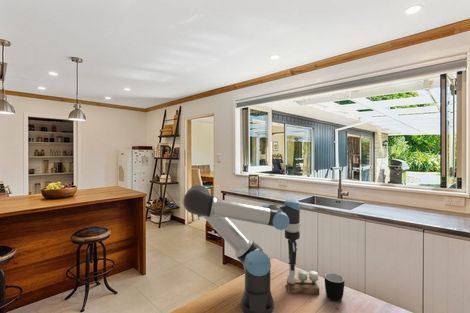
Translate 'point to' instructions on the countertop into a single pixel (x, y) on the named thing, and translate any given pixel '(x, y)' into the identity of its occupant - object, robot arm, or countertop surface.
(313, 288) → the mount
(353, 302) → the countertop surface
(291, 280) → the knob left
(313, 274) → the knob right
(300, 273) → the knob mid
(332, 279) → the mug
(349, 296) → the countertop surface
